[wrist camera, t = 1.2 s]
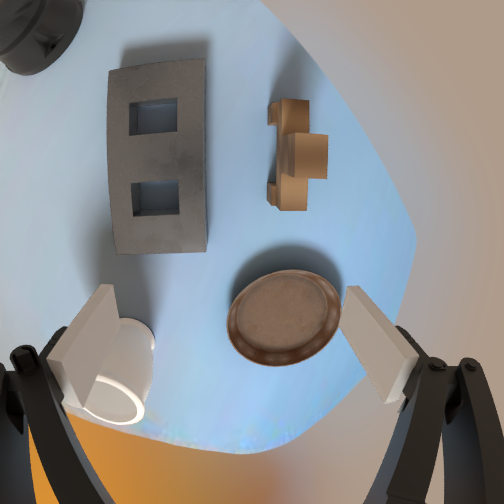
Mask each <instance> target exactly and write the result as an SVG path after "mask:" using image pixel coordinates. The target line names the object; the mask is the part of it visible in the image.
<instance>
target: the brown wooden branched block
mask: <svg viewBox="0 0 504 504" xmlns="http://www.w3.org/2000/svg"><path fill="white" fill-rule="evenodd" d="M268 125H277V164H276V182H267V201H268V202H269V203H270V204H271V206H276V207H277V208H278V209H279V210H280V211H307V194H308V178H315V179H327V164H328V135H323V134H310V133H309V100H297V99H283V98H282V99H281V100H280V101H279V102H277V103H272V104H271V105H270V106H269V107H268Z"/></svg>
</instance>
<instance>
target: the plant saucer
mask: <svg viewBox="0 0 504 504" xmlns="http://www.w3.org/2000/svg"><path fill="white" fill-rule="evenodd" d="M341 313H342V307H341V301H340V298H339V295H338V293H337V291H336V290H335V288H334V287H333V286H332V284H331V283H330V282H328V281H327V280H326V279H325V278H323V277H321V276H320V275H318V274H315V273H313V272H309V271H305V270H296V269H290V270H281V271H276V272H272V273H269V274H267V275H264V276H262V277H260V278H258V279H257V280H255V281H253V282H252V283H250V284H249V285H248V286H247V287H245V288H244V289H243V290H242V291H241V292H240V293H239V294H238V296H237V297H236V298H235V300H234V301H233V303H232V305H231V307H230V309H229V312H228V316H227V334H228V337H229V340H230V342H231V344H232V346H233V347H234V349H235V350H236V351H237V352H238V353H239V354H240V355H241V356H243V357H244V358H245V359H247V360H249V361H251V362H253V363H256V364H259V365H263V366H271V367H280V366H288V365H293V364H297V363H300V362H302V361H305V360H307V359H309V358H311V357H312V356H314V355H316V354H317V353H318V352H320V351H321V350H322V349H323V348H324V347H325V346H326V345H327V344H328V343H329V342H330V341H331V339H332V338H333V336H334V335H335V333H336V331H337V329H338V327H339V322H340V318H341Z"/></svg>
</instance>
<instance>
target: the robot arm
mask: <svg viewBox="0 0 504 504" xmlns="http://www.w3.org/2000/svg"><path fill="white" fill-rule="evenodd" d="M81 19H82V6H81V4H80V2H79V1H78V0H0V60H1V61H2V62H3V63H4V64H5V66H6V67H7V68H8V69H9V70H10V71H11V72H13V73H16V74H20V75H25V76H27V75H33V74H36V73H38V72H41V71H42V70H44V69H46V68H47V67H49V66H50V65H51V64H52V63H54V62H55V61H56V60H57V59H58V58H59V57H60V56H61V55H62V54H63V53H64V51H65V50H66V49H67V48H68V46H69V45H70V43H71V42H72V40H73V39H74V37H75V35H76V33H77V31H78V29H79V26H80V23H81ZM120 327H121V324H120V319H119V314H118V309H117V304H116V299H115V293H114V287H113V284H101V285H100V286H99V287H98V288H97V290H96V291H95V292H94V293H93V295H92V296H91V297H90V299H89V300H88V301H87V302H86V304H85V305H84V306H83V308H82V309H81V310H80V312H79V313H78V314H77V316H76V317H75V318H74V320H73V321H72V322H71V324H70V325H69V327H65V326H63V327H62V328H60V329H59V330H57V331H56V332H55V334H54V335H53V336H52V338H51V339H50V340H49V342H48V344H46V346H45V347H44V349H43V350H42V351H41V353H40V354H39V356H38V354H37V352H36V350H35V348H34V347H33V346H31V345H22V346H19V347H17V348H16V349H14V350H13V351H12V353H11V354H10V360H11V362H12V364H13V366H14V368H15V370H16V371H6V369H5V367H4V365H3V364H2V363H0V504H36V499H35V493H34V487H33V480H32V473H31V463H30V453H29V434H28V424H29V427H30V431H31V434H32V437H33V440H34V443H35V446H36V449H37V452H38V455H39V457H40V460H41V463H42V466H43V468H44V471H45V473H46V476H47V478H48V480H49V483H50V485H51V487H52V489H53V491H54V494H55V496H56V498H57V500H58V502H59V504H116V503H115V502H114V501H113V499H112V498H111V496H110V495H109V493H108V492H107V490H106V488H105V487H104V485H103V484H102V482H101V480H100V479H99V477H98V475H97V474H96V472H95V470H94V469H93V467H92V465H91V463H90V462H89V460H88V458H87V456H86V454H85V452H84V450H83V448H82V446H81V444H80V442H79V440H78V438H77V436H76V434H75V432H74V430H73V428H72V426H71V424H70V421H69V419H68V417H67V414H66V412H65V409H64V407H63V405H62V404H61V402H62V400H63V398H64V397H65V399H66V401H67V403H68V405H69V406H73V407H77V408H82V409H83V408H84V406H85V403H86V401H87V398H88V396H89V394H90V391H91V389H92V387H93V384H94V382H95V380H96V377H97V375H98V373H99V371H100V369H101V366H102V364H103V362H104V360H105V358H106V356H107V353H108V351H109V349H110V347H111V345H112V343H113V341H114V339H115V337H116V335H117V333H118V331H119V329H120ZM339 328H340V329H341V331H342V333H343V334H344V336H345V338H346V339H347V341H348V343H349V344H350V346H351V348H352V349H353V351H354V353H355V354H356V356H357V358H358V359H359V361H360V363H361V364H362V366H363V368H364V370H365V371H366V373H367V375H368V376H369V378H370V380H371V382H372V383H373V385H374V387H375V388H376V390H377V392H378V394H379V395H380V397H381V399H382V401H383V402H384V404H386V403H390V402H394V401H397V400H398V399H399V397H400V395H401V393H402V391H403V393H404V394H405V396H406V398H405V400H404V402H403V403H402V405H401V407H400V409H399V410H398V413H400V414H399V418H398V421H397V424H396V427H395V430H394V433H393V436H392V438H391V441H390V444H389V447H388V449H387V452H386V454H385V457H384V459H383V462H382V464H381V466H380V469H379V471H378V473H377V476H376V478H375V480H374V482H373V485H372V487H371V489H370V491H369V493H368V495H367V497H366V499H365V501H364V503H363V504H426V503H425V498H426V494H427V491H428V488H429V485H430V481H431V477H432V474H433V469H434V465H435V461H436V457H437V452H438V447H439V442H440V437H441V431H442V442H443V456H444V504H504V437H503V433H502V429H501V425H500V421H499V418H498V414H497V410H496V407H495V404H494V401H493V398H492V394H491V392H490V389H489V386H488V383H487V380H486V377H485V374H484V372H483V369H482V367H481V365H480V363H478V362H477V361H476V360H475V359H473V358H463V359H462V360H461V362H460V364H459V365H458V366H447V364H446V363H445V362H444V361H443V360H441V359H439V358H436V357H429V356H428V355H427V354H426V353H425V352H424V351H423V349H422V348H421V347H420V346H419V345H418V344H417V343H416V342H415V340H414V339H413V338H411V335H410V334H409V333H408V332H407V331H406V330H405V329H403V328H401V327H400V326H394V325H393V324H392V323H391V321H390V320H389V319H388V318H387V317H386V316H385V314H384V313H383V312H382V311H381V310H380V309H379V308H378V307H377V305H376V304H375V303H374V302H373V301H372V300H371V299H370V298H369V296H368V295H367V294H366V293H365V292H364V291H363V290H362V289H361V288H360V286H347V290H346V295H345V300H344V304H343V309H342V313H341V318H340V322H339Z"/></svg>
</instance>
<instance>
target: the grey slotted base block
mask: <svg viewBox="0 0 504 504" xmlns="http://www.w3.org/2000/svg"><path fill="white" fill-rule="evenodd" d="M205 82H206V65H205V61H204V59H191V60H179V61H168V62H159V63H152V64H144V65H138V66H132V67H126V68H121V69H115V70H111V71H109V77H108V93H107V165H108V182H109V195H110V206H111V216H112V225H113V233H114V240H115V247H116V254H117V255H123V254H160V253H196V252H206V250H207V244H208V241H207V216H206V181H205ZM168 103H177V131H176V132H163V133H152V134H143V135H137V114H138V107H141V106H149V105H158V104H168ZM167 180H178V189H179V209H164V210H145V211H141V205H140V191H139V182H152V181H167Z"/></svg>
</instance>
